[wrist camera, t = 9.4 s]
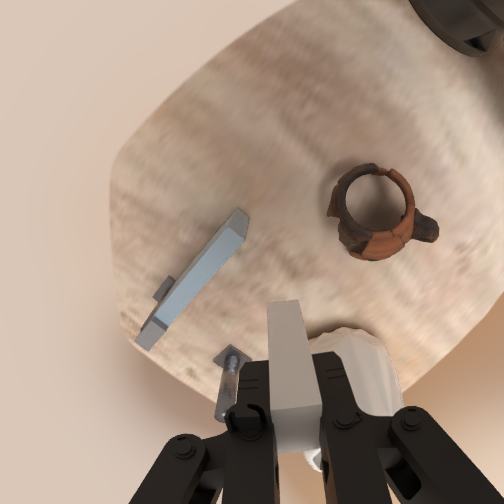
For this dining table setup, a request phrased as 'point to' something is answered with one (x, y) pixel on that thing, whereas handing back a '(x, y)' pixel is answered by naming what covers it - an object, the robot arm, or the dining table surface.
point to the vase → (361, 374)
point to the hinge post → (160, 297)
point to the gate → (196, 277)
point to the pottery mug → (380, 241)
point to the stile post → (228, 379)
